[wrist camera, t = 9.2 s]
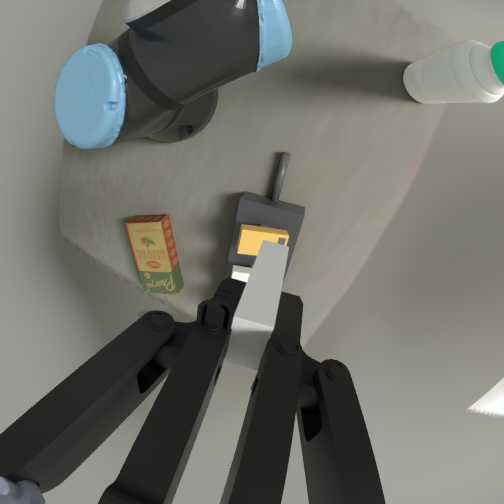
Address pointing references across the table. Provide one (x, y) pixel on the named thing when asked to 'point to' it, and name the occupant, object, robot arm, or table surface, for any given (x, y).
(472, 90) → the water bottle
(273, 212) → the power strip
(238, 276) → the rocker white
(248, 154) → the table surface
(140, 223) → the carton
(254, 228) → the rocker amber
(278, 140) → the table surface
